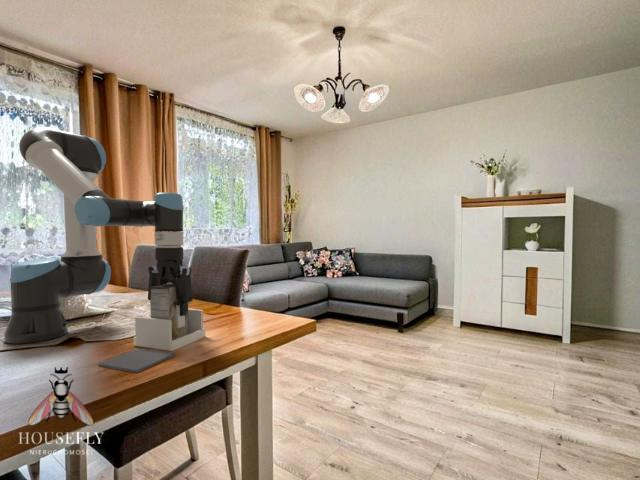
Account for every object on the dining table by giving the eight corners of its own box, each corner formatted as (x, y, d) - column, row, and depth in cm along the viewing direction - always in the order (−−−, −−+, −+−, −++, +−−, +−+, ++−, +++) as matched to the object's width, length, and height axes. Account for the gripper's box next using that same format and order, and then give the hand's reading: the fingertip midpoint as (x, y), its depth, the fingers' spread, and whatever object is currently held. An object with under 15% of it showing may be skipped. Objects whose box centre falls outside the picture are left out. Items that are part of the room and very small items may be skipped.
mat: (98, 366, 83) (98, 363, 83) (140, 349, 94) (140, 347, 94) (137, 372, 79) (136, 370, 79) (175, 355, 90) (175, 352, 90)
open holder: (133, 345, 98) (133, 317, 98) (169, 332, 111) (169, 307, 111) (172, 351, 93) (171, 321, 93) (205, 336, 106) (205, 310, 106)
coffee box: (170, 334, 107) (169, 281, 107) (189, 335, 106) (188, 282, 106) (150, 343, 98) (149, 286, 98) (170, 345, 97) (169, 287, 97)
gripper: (132, 246, 101) (133, 325, 102) (188, 247, 95) (188, 332, 95) (153, 245, 108) (153, 319, 109) (206, 246, 102) (206, 325, 102)
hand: (170, 325), depth 102 cm, fingers closed on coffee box, 7 cm apart
